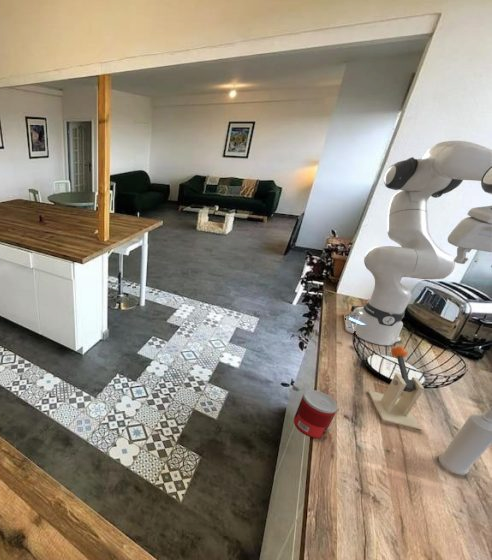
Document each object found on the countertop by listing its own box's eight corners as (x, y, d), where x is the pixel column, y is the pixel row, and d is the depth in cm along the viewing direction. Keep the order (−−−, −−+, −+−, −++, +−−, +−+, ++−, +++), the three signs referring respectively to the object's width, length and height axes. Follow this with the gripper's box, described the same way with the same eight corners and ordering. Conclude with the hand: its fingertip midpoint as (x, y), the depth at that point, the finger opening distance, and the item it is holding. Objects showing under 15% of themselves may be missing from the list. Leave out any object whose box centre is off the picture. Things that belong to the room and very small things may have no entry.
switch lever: (387, 348, 100) (393, 343, 97) (401, 351, 98) (408, 345, 96) (396, 390, 92) (403, 385, 89) (412, 393, 90) (419, 389, 88)
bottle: (471, 479, 77) (533, 407, 66) (446, 475, 78) (504, 403, 67) (454, 459, 81) (510, 389, 70) (431, 456, 82) (483, 386, 71)
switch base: (366, 393, 102) (382, 363, 96) (400, 401, 99) (419, 371, 93) (380, 422, 92) (399, 390, 86) (419, 432, 89) (441, 400, 83)
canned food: (327, 443, 86) (341, 415, 81) (295, 434, 88) (306, 406, 83) (320, 421, 92) (333, 394, 87) (290, 413, 95) (301, 386, 90)
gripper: (550, 220, 79) (508, 267, 86) (463, 207, 81) (429, 254, 88) (578, 229, 74) (530, 278, 81) (484, 215, 76) (446, 264, 83)
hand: (477, 265), depth 84 cm, fingers open, 8 cm apart
